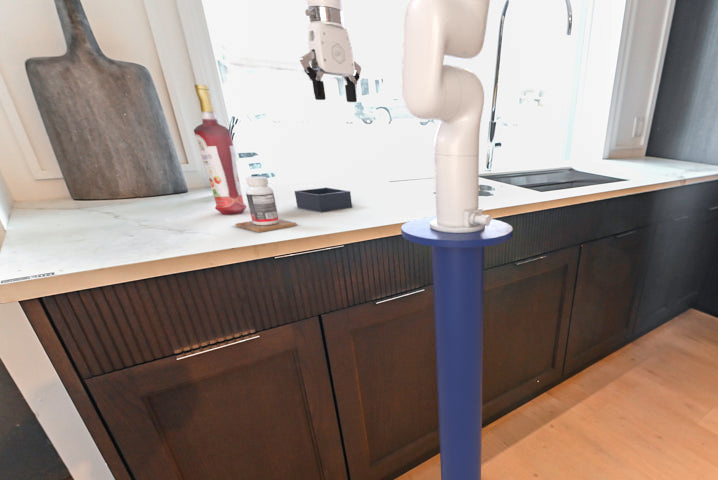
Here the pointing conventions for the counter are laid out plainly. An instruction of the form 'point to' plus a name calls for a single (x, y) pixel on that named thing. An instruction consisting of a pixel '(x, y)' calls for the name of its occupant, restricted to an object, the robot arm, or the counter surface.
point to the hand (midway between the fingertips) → (336, 100)
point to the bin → (323, 199)
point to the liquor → (218, 157)
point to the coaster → (262, 228)
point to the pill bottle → (261, 201)
